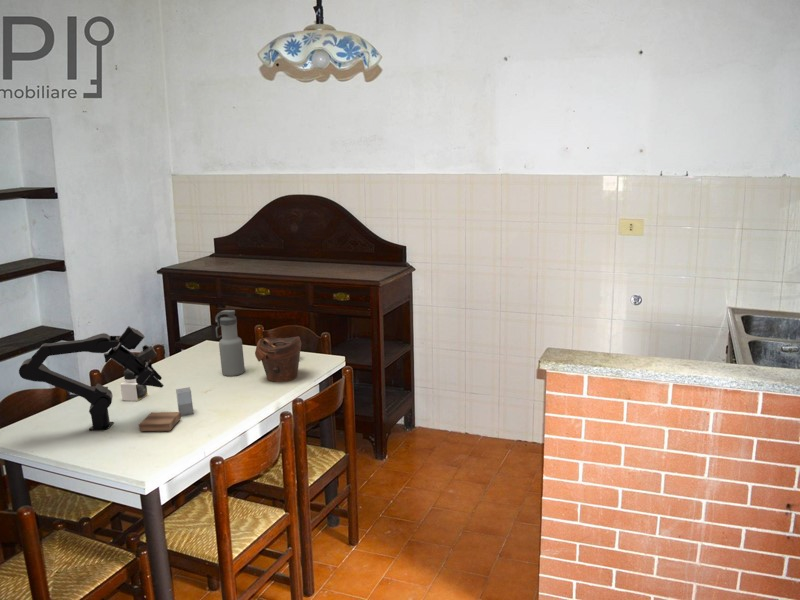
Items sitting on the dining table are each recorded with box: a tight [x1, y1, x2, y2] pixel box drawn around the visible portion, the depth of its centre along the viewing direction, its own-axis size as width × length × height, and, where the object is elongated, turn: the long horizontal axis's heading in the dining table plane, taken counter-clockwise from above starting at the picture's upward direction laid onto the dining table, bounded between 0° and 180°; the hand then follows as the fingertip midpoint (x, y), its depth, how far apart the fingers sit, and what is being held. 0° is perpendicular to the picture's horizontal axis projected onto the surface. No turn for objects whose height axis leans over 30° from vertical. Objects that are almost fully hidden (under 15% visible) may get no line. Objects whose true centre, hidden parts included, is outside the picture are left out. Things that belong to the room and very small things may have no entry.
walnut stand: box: [138, 411, 182, 432], centre depth 255 cm, size 11×11×3 cm
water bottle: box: [214, 309, 245, 377], centre depth 307 cm, size 10×10×28 cm
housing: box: [175, 386, 194, 417], centre depth 266 cm, size 5×5×9 cm
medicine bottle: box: [119, 369, 148, 402], centre depth 284 cm, size 7×7×12 cm
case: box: [254, 336, 302, 383], centre depth 300 cm, size 18×20×18 cm
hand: (162, 382), depth 261 cm, fingers open, 9 cm apart
